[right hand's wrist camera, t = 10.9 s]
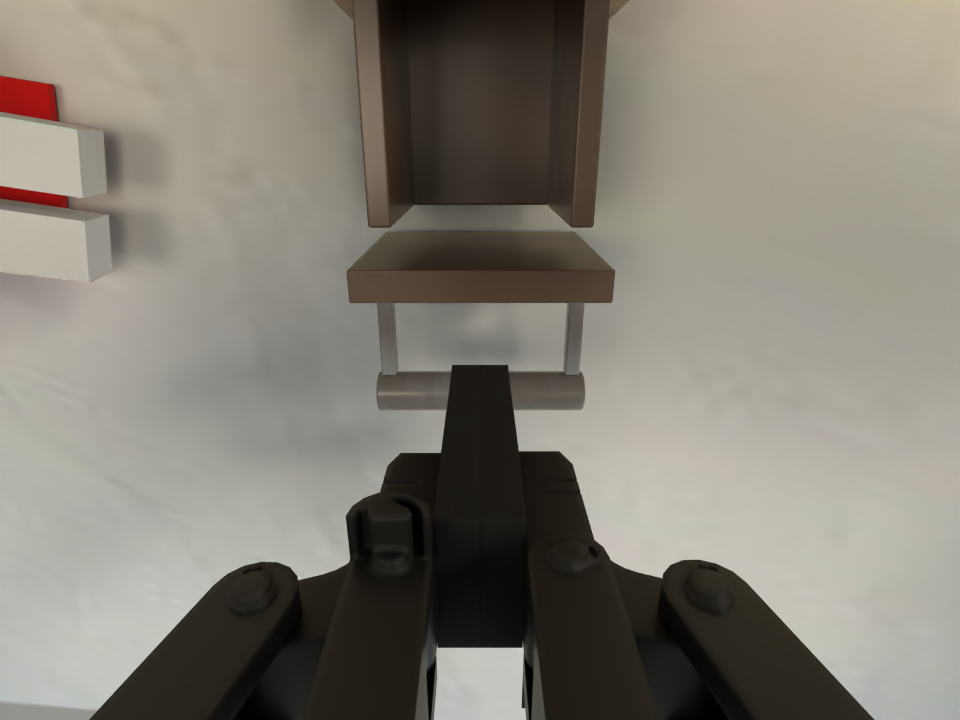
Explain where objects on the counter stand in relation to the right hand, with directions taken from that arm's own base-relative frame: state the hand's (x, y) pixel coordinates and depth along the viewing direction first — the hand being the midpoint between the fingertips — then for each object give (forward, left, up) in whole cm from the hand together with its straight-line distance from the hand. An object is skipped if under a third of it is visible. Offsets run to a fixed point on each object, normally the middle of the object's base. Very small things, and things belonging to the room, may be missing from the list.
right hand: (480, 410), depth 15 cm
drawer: (-3, -6, -14) cm, 16 cm away
